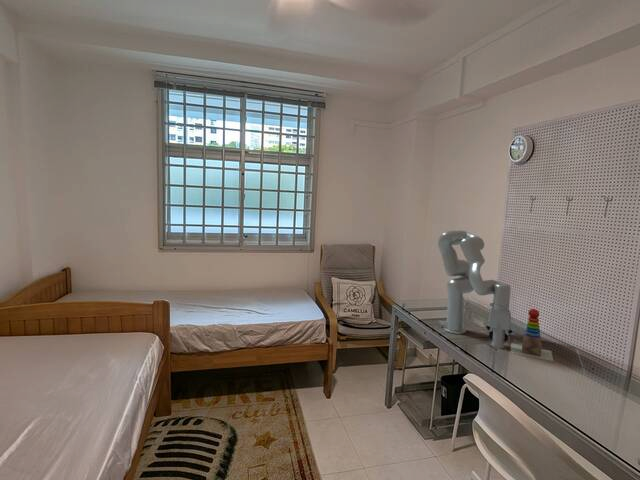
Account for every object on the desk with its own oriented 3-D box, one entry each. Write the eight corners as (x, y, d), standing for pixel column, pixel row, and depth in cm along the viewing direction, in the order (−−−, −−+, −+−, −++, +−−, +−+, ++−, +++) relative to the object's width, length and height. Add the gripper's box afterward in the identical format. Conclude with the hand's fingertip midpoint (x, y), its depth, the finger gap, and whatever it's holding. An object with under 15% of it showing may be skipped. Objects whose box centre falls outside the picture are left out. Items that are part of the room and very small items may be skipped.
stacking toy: (536, 339, 192) (538, 307, 190) (543, 345, 184) (546, 311, 182) (521, 338, 193) (524, 306, 191) (528, 344, 185) (531, 311, 183)
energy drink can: (492, 344, 185) (494, 317, 183) (505, 347, 181) (507, 320, 179) (490, 348, 180) (492, 320, 178) (502, 351, 176) (504, 323, 174)
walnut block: (521, 352, 172) (522, 341, 171) (522, 346, 179) (522, 336, 178) (540, 356, 168) (541, 345, 167) (540, 350, 175) (541, 339, 174)
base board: (510, 354, 173) (510, 352, 172) (511, 345, 184) (511, 343, 184) (553, 363, 163) (553, 361, 163) (551, 353, 175) (551, 350, 174)
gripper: (481, 306, 179) (479, 338, 181) (519, 311, 170) (517, 346, 172) (483, 302, 185) (481, 334, 187) (520, 307, 177) (517, 341, 179)
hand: (498, 339), depth 180 cm, fingers closed on energy drink can, 6 cm apart
